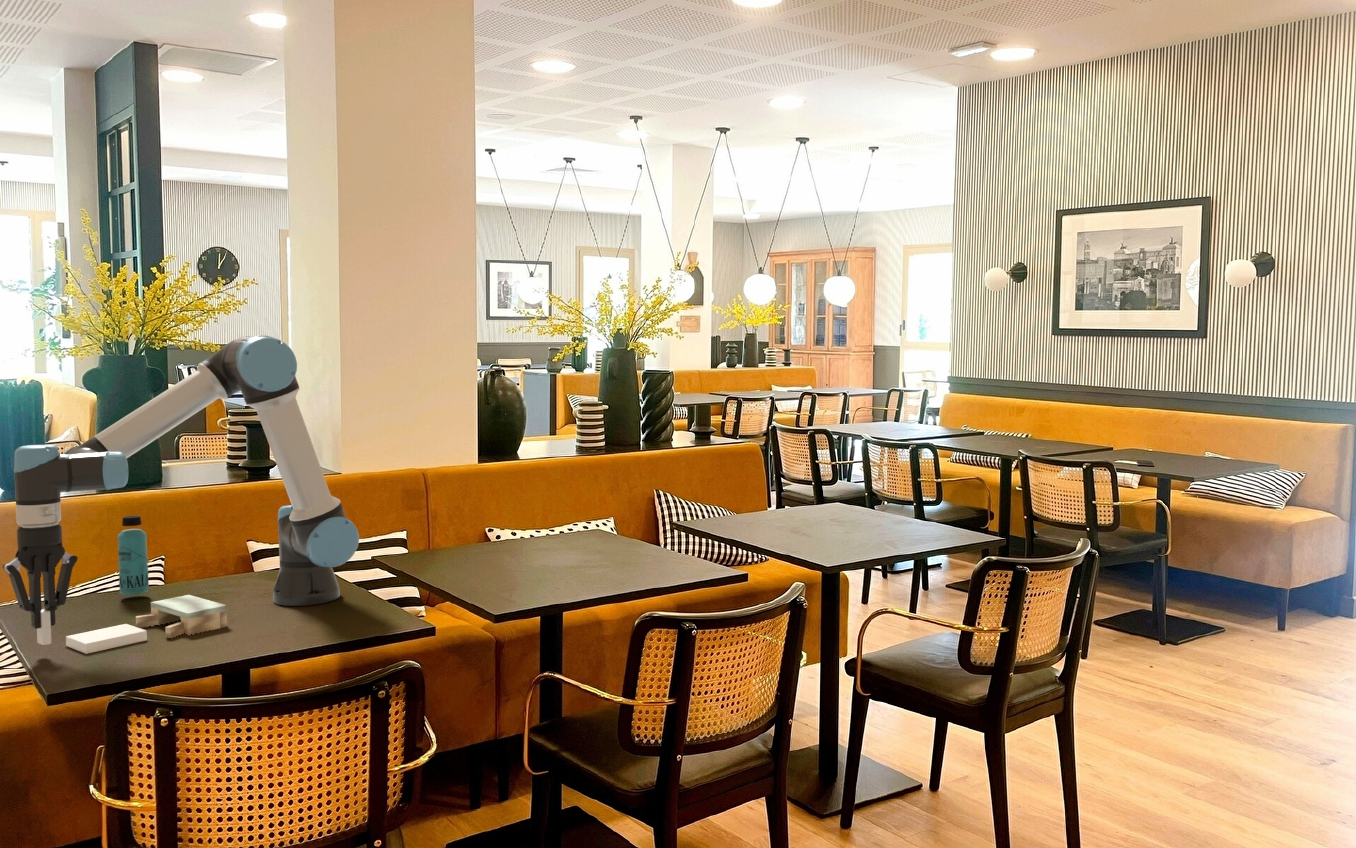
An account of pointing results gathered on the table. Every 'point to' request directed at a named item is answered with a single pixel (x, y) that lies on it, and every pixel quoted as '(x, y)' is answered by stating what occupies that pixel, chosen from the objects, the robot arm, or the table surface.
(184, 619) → the miniature low table
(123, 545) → the beverage bottle
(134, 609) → the table surface
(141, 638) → the white eraser slab
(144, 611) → the table surface
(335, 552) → the robot arm
